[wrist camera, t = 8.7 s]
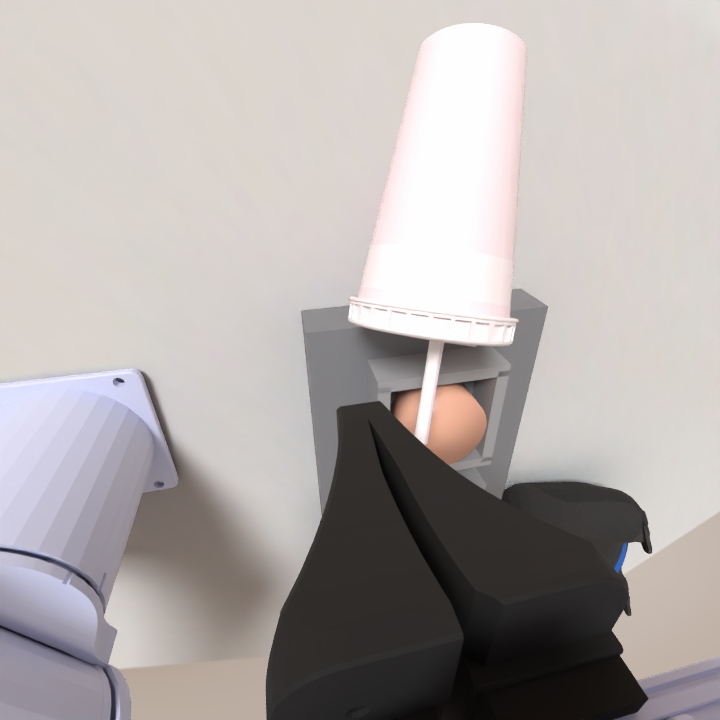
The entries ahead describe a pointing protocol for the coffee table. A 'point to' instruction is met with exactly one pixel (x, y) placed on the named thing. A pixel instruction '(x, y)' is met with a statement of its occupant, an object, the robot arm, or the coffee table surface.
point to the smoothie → (450, 202)
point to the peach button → (445, 420)
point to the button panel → (420, 382)
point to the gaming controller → (587, 516)
